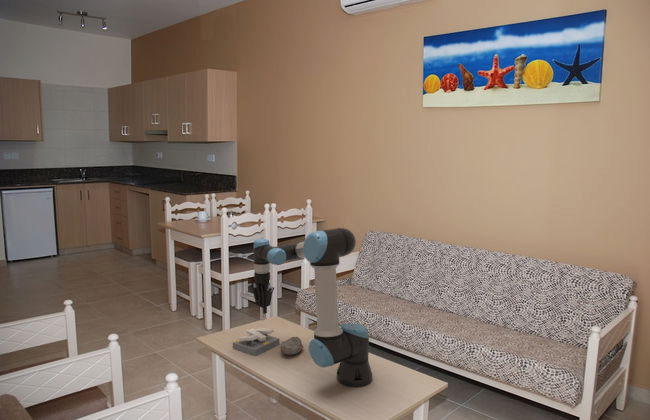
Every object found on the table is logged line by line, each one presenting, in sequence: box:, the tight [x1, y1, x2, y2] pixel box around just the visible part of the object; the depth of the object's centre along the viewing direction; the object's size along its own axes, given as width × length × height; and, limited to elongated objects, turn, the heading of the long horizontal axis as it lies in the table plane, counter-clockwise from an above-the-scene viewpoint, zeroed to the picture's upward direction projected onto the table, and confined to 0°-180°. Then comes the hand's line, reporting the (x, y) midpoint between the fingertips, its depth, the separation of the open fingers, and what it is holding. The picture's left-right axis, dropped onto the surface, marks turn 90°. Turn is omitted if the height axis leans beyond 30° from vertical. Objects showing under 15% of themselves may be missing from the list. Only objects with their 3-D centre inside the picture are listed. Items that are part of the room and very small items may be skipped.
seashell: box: [280, 336, 304, 356], centre depth 235 cm, size 9×12×15 cm
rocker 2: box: [246, 327, 267, 341], centre depth 241 cm, size 10×4×2 cm, turn 54°
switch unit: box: [232, 334, 280, 357], centre depth 242 cm, size 15×17×5 cm
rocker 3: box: [255, 327, 275, 335], centre depth 246 cm, size 10×4×2 cm, turn 54°
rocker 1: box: [237, 335, 258, 341], centre depth 237 cm, size 10×4×2 cm, turn 54°
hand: (263, 319), depth 238 cm, fingers closed
